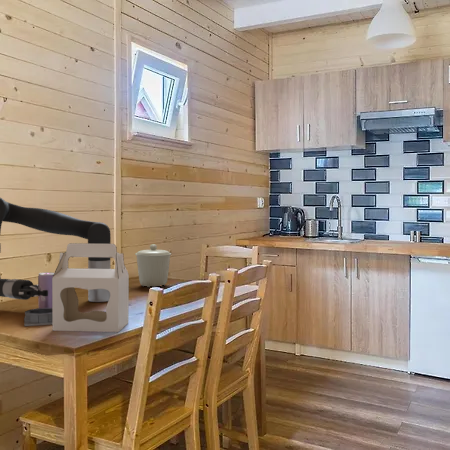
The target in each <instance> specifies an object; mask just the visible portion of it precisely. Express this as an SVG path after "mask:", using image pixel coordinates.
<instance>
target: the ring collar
mask: <svg viewBox="0 0 450 450" xmlns="http://www.w3.org/2000/svg"><path fill="white" fill-rule="evenodd" d="M24 315H25V316H24V318H23V319H24V320H23V322H24V325H23V326H24V327H34V326H35V327H36V326H49V325H53V323H52V308H39V307H38V308H31V309H28V310H26V311H24Z"/></svg>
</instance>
